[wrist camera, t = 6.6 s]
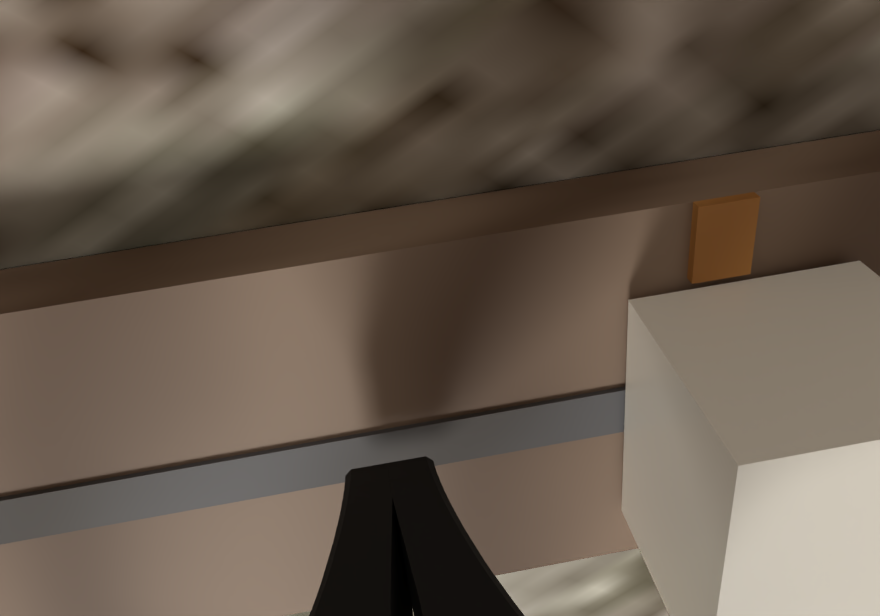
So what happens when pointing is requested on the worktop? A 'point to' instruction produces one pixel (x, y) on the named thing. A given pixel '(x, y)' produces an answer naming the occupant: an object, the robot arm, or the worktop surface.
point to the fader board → (368, 374)
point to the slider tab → (757, 444)
